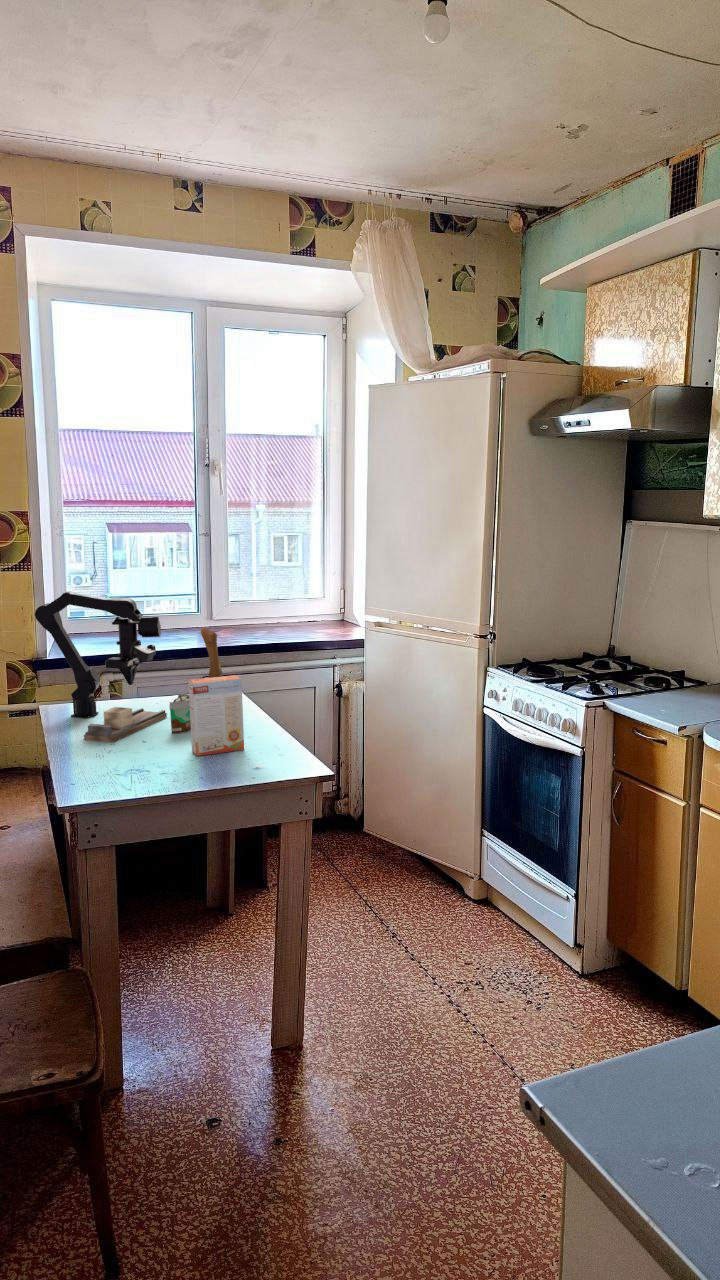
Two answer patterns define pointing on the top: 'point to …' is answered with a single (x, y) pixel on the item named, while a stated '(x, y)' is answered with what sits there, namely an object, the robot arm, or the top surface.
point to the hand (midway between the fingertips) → (130, 684)
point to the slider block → (118, 717)
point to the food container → (180, 714)
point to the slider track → (112, 735)
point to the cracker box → (216, 715)
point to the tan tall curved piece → (212, 652)
